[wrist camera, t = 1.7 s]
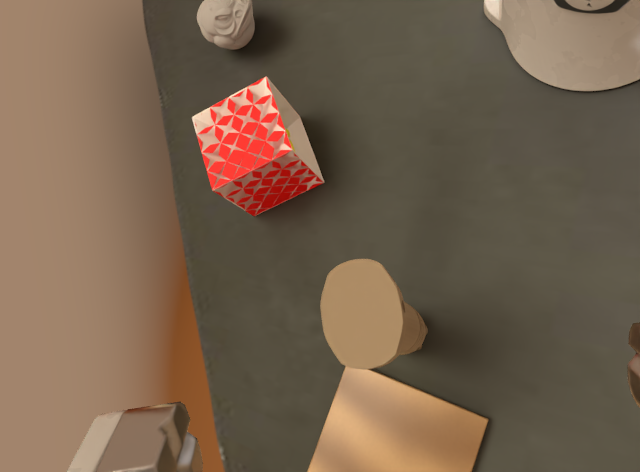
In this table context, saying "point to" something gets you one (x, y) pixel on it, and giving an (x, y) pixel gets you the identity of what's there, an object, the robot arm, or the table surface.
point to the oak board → (395, 429)
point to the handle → (368, 316)
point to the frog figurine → (227, 22)
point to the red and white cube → (256, 149)
